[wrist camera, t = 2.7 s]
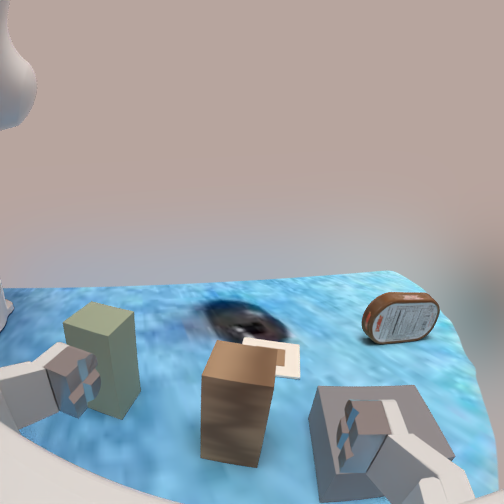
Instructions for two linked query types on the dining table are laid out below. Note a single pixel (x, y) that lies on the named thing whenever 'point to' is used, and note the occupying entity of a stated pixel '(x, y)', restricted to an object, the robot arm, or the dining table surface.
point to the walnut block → (236, 402)
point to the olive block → (108, 354)
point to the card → (281, 356)
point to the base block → (326, 424)
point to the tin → (400, 317)
